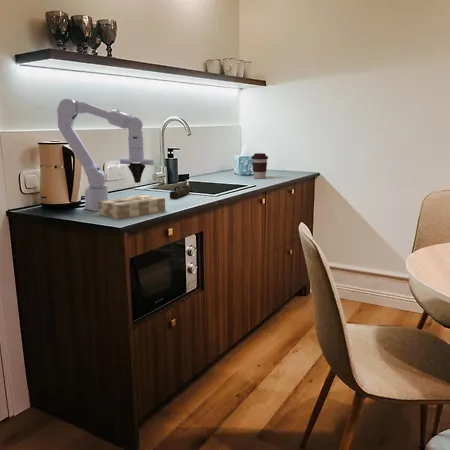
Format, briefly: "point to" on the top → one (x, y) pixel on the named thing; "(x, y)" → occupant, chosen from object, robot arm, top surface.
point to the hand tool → (179, 192)
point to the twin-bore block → (131, 206)
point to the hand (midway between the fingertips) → (137, 182)
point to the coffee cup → (259, 165)
